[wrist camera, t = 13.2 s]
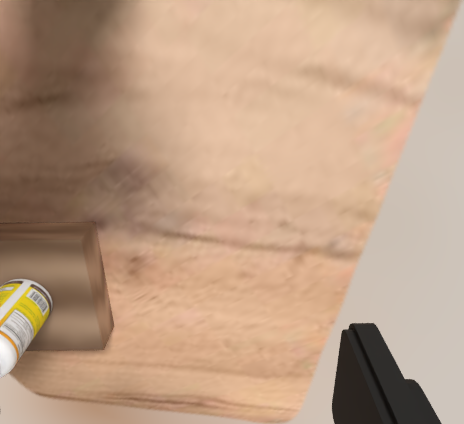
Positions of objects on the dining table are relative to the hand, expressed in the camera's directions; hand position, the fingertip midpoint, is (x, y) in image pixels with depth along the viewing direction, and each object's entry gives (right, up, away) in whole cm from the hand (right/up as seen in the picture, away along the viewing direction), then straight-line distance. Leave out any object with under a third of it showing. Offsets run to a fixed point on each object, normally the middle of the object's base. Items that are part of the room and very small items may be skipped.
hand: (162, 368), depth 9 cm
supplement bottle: (-20, -5, +29) cm, 35 cm away
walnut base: (-20, -4, +32) cm, 38 cm away
